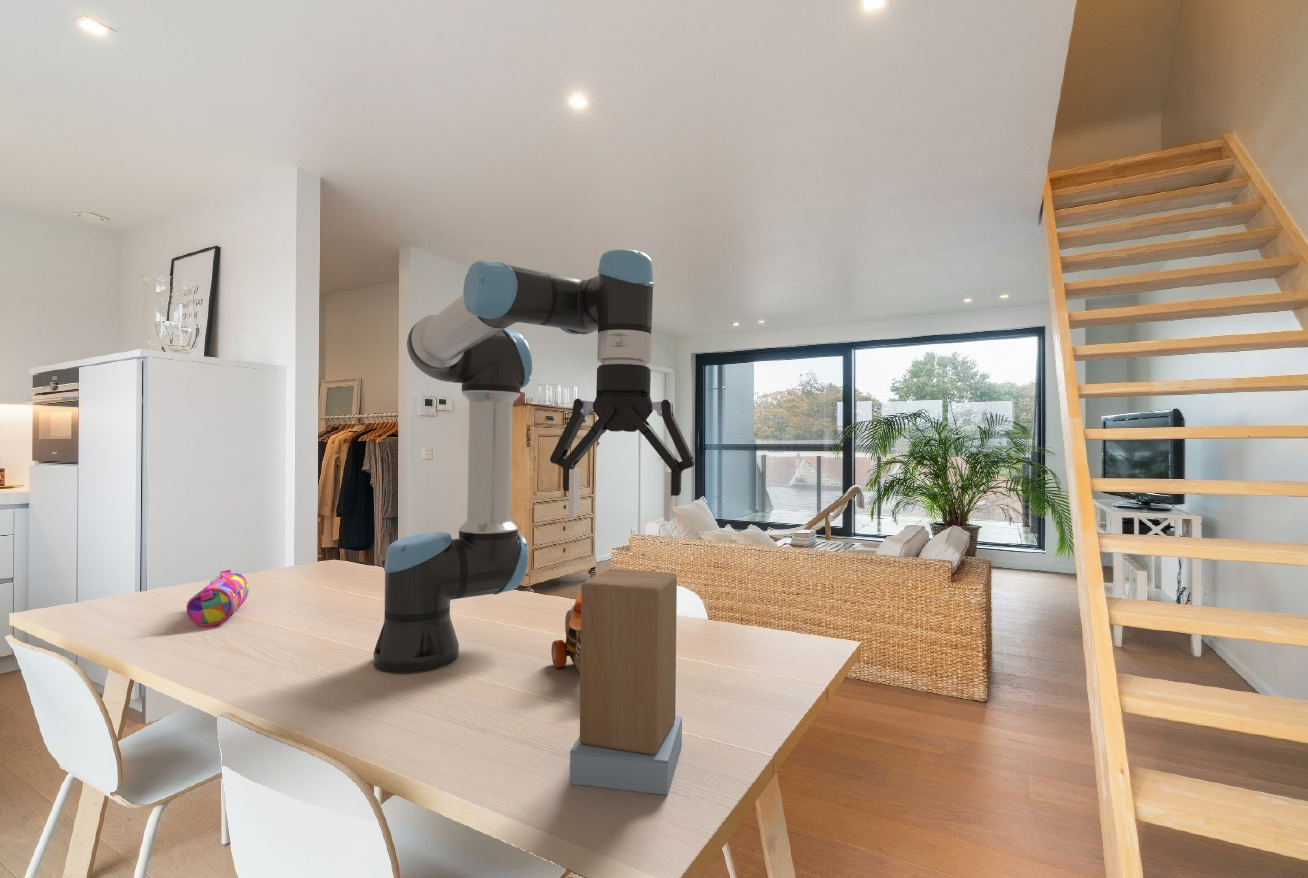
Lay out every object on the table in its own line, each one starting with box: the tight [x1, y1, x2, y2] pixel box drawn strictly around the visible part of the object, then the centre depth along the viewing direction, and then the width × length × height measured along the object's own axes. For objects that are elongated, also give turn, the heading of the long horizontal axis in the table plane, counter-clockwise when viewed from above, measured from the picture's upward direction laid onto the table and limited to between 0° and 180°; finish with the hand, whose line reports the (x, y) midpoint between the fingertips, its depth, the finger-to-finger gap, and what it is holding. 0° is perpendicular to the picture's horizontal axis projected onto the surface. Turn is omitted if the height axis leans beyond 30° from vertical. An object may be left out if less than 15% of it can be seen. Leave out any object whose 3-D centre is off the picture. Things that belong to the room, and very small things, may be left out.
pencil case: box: [186, 569, 249, 627], centre depth 144 cm, size 22×9×9 cm, turn 27°
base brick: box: [569, 715, 683, 796], centre depth 79 cm, size 12×12×4 cm
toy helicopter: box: [550, 590, 581, 675], centre depth 108 cm, size 8×21×14 cm, turn 24°
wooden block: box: [579, 568, 678, 755], centre depth 79 cm, size 10×10×20 cm
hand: (620, 517), depth 85 cm, fingers open, 13 cm apart
